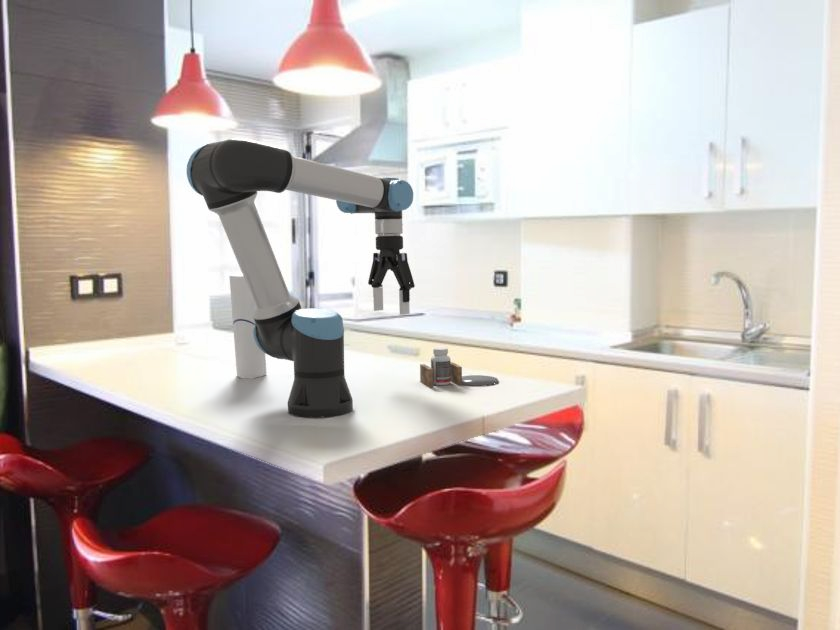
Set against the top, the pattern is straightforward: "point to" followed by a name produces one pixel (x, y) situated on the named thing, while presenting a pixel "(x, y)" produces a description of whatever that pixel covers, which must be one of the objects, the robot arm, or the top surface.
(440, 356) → the pill bottle
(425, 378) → the cradle
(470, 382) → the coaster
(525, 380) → the top surface
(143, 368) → the top surface
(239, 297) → the container
